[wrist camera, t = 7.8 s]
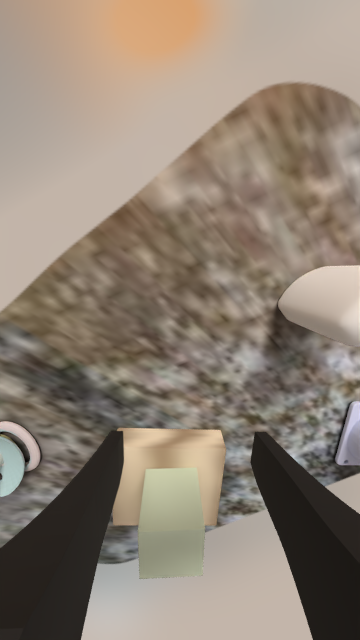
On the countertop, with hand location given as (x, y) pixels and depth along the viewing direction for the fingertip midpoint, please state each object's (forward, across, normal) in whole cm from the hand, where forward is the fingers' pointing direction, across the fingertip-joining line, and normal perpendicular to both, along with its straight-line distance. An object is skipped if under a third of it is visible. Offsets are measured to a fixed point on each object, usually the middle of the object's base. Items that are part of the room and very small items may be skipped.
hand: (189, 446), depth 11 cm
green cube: (+7, +1, +12) cm, 14 cm away
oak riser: (+10, +1, +12) cm, 16 cm away
